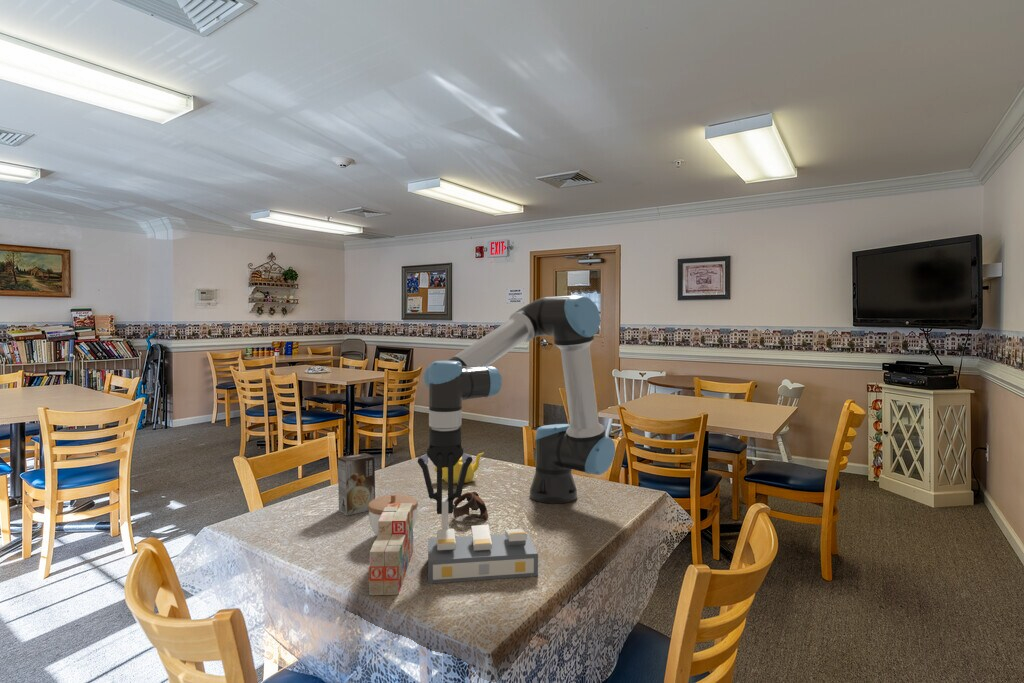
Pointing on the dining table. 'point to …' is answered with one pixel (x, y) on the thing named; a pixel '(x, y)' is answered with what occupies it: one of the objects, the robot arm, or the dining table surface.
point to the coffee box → (356, 483)
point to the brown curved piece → (469, 505)
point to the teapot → (457, 470)
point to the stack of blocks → (391, 549)
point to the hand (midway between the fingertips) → (444, 526)
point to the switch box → (482, 560)
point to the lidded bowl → (381, 502)
